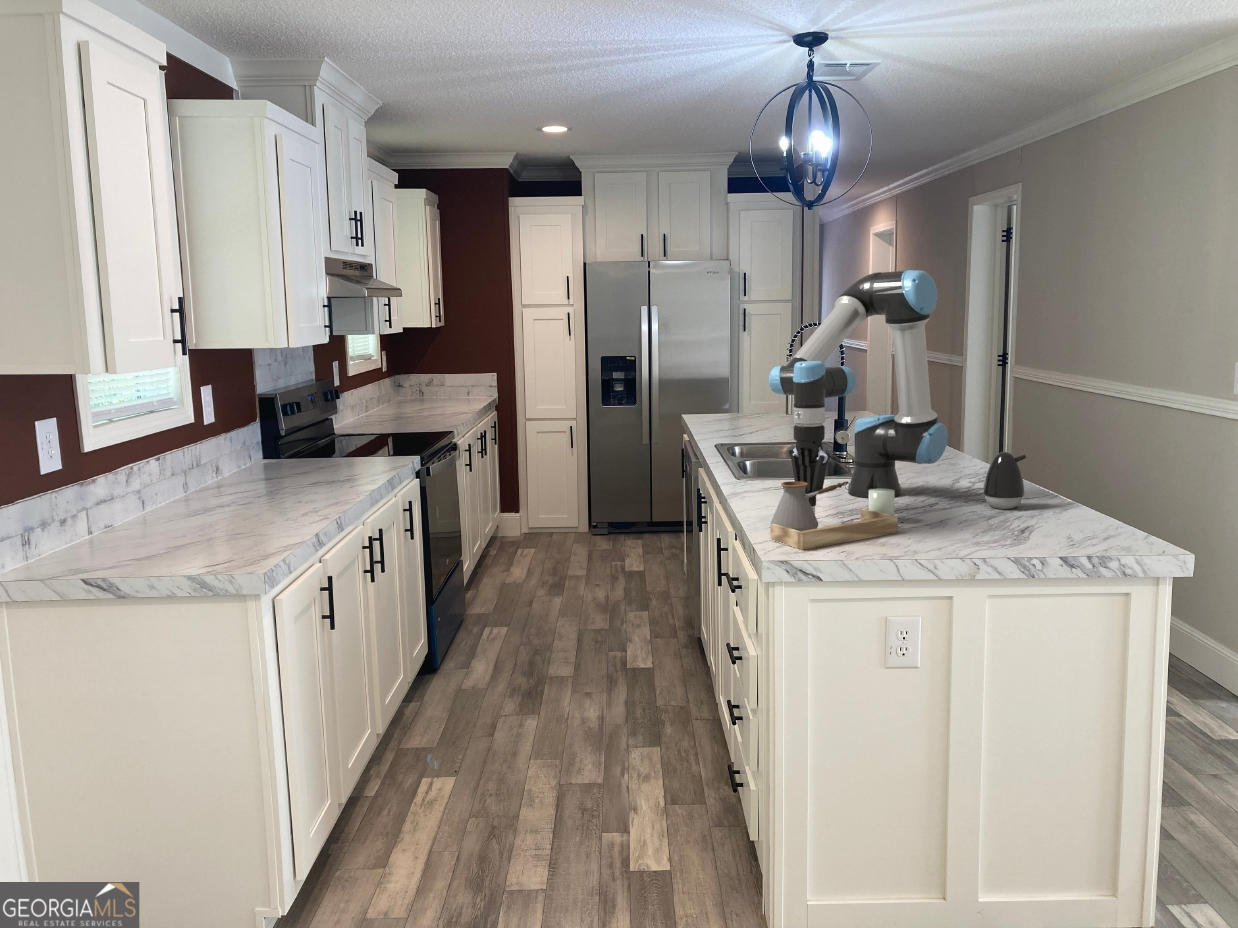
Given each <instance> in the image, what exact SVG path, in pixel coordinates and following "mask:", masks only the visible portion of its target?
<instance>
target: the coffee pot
mask: <svg viewBox="0 0 1238 928" xmlns="http://www.w3.org/2000/svg"><path fill="white" fill-rule="evenodd" d="M849 484H850V482H849V481H843V482H838V483H837V484H832V485H829V486H827V487H826V486H825V487H823V489H821V490H819V491H817V492H813V493H810V494H807V495H806V493H805V490H806V486H808V483H806V482H799V481H795V480H793V481H792V480H791V481H784V482H781V484H780V485H781V487H782V488H783V492H782V495H781V498H780V499H779V502H778V505H777V507H776V509H775V512H774V513H773V516H772V518H771V521H770V524H776V525H780V526H783V527H787V528H791V529H794V530H798V531H806V530H812V529H817V528H819V521H818V518H817V516H816V513H815V514H814V512H813V509H812V507H811V505H810V502H809V500H808V498H810V497H813V496H815V495H816V496H817V495H821V494H825V493H829V492H832V491H834V490H837V489H838V488H839V489H841V488H842V487H844V489H845V490H847V491H848V490H850V489H851V484H850V489H848V487H846V485H849Z"/></svg>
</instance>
